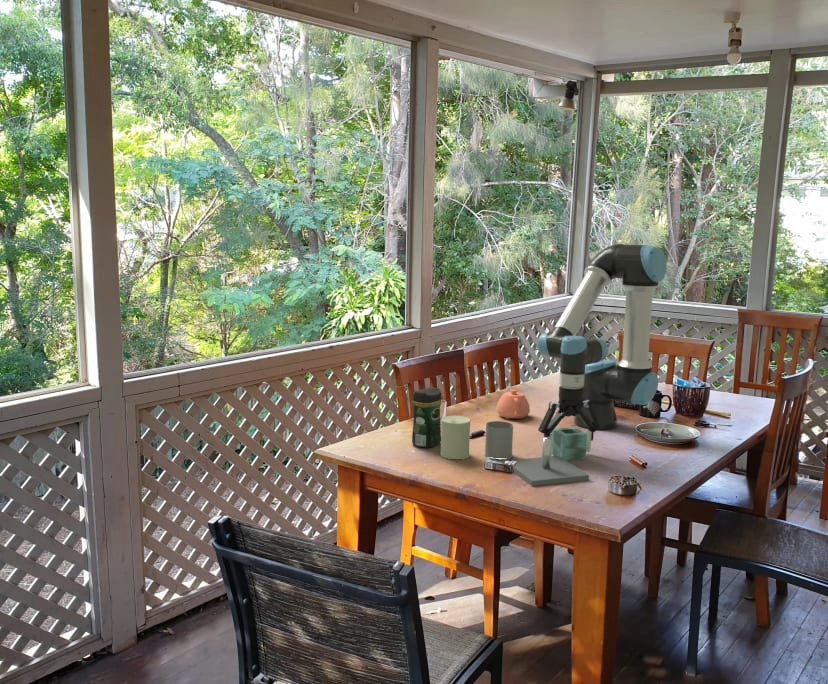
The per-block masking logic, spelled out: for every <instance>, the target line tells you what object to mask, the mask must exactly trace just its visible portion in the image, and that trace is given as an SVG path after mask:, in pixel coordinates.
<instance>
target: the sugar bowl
mask: <svg viewBox="0 0 828 684" xmlns="http://www.w3.org/2000/svg"><path fill="white" fill-rule="evenodd" d="M495 410H496V413H498V415H499V416H500V417H503V418H504V419H506V420H509V419H518V420H523V419H524V418H526V417H527V416H528V415H529V414H530V412H531V409H530V404H529V401H528V399H527V397H526V396H525V394H523V393H522V392H518V390H517V389H510V391H506V392H504V393H503V394H502V395H501V397H500V398H499V400H498V401H497V403H496V409H495Z"/></svg>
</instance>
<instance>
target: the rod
mask: <svg viewBox="0 0 828 684" xmlns="http://www.w3.org/2000/svg"><path fill="white" fill-rule="evenodd" d="M551 440H552V438H551V437H544V436H543V437H542V452H541V453H542V455H541V457H542V468H543V469H550V459H551V456H552V455H551Z"/></svg>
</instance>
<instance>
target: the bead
mask: <svg viewBox="0 0 828 684" xmlns="http://www.w3.org/2000/svg"><path fill="white" fill-rule="evenodd" d="M551 434H552V435H553V438H552V455H551V456H560V457H561V458H563V459H564V460H566V461H568V462H569V461H578V460H586V459H587V451H586V445H587V434H586V433H585V431H582V430H580V429H579V428H576V427H575V426H571V427H570V426H569V427H568V426H567V427H555V429H554V430H553V431H552V432H551Z"/></svg>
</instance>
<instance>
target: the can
mask: <svg viewBox="0 0 828 684" xmlns="http://www.w3.org/2000/svg"><path fill="white" fill-rule="evenodd" d="M440 428H441V442H440V453H439V456H440V455H441V456H442V457H441V456H440V457H441V458H443V457H444V458H443V459H446V458H448V459H447V460H450V459H462V460H466V459H468V458H470V456H471V454H470V442H471V441H470V439H471V438H470V436H471V433H470V432H471V419H470V418H469V417H466V416H462V415H447V416H443V417H440ZM465 458H466V459H465Z"/></svg>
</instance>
